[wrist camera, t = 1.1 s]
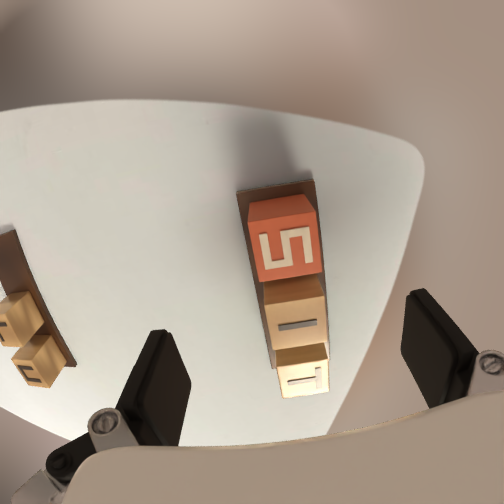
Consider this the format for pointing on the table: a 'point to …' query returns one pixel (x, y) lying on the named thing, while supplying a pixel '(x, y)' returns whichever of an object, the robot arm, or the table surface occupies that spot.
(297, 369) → the near word
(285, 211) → the tile
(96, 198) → the table surface
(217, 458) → the robot arm
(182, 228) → the table surface
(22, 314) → the far word
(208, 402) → the table surface
